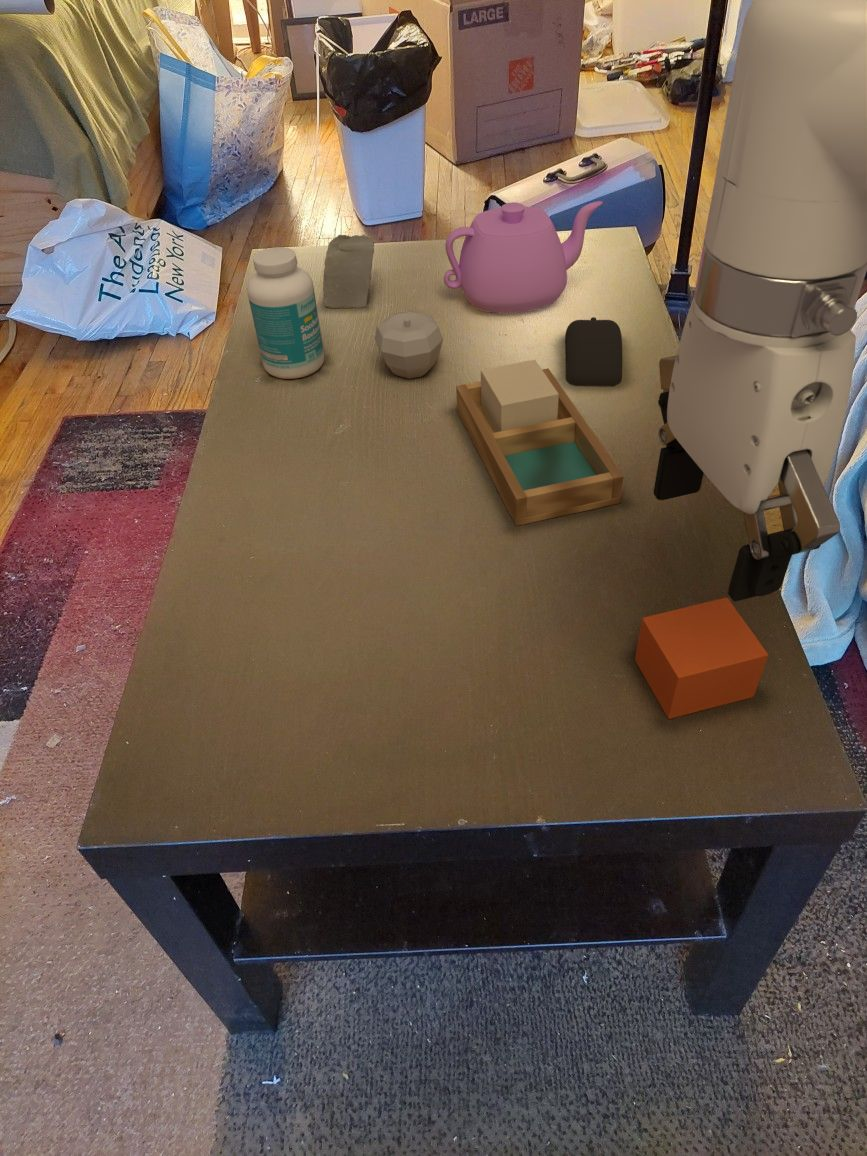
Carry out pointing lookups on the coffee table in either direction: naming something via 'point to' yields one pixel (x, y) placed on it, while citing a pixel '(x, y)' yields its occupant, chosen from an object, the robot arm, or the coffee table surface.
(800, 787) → the coffee table surface
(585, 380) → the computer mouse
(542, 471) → the holder
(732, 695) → the orange block
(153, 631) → the coffee table surface
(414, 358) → the apple
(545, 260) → the teapot
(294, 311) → the pill bottle
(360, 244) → the mineral specimen
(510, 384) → the beige block
